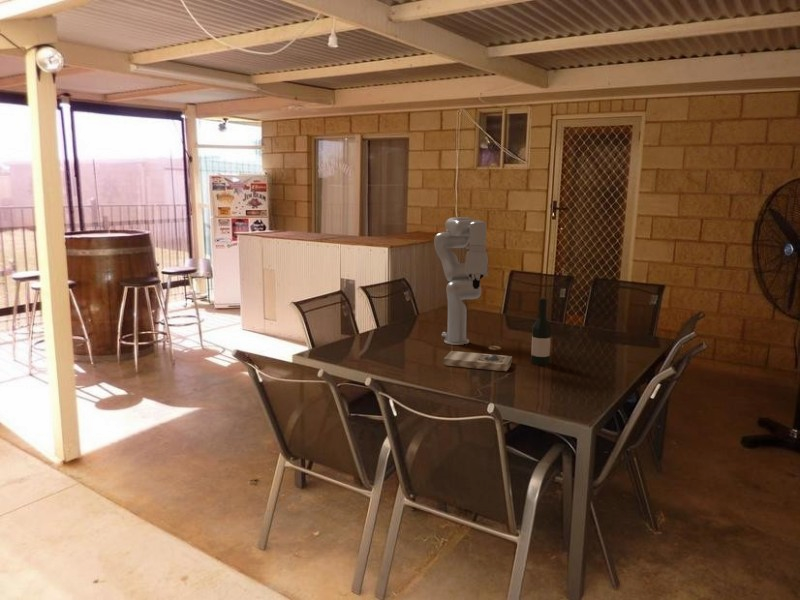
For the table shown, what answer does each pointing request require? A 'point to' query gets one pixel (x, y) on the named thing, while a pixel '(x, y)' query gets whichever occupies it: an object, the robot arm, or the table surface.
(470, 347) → the table surface
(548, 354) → the wine bottle
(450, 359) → the beige flat board
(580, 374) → the table surface
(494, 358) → the ball
